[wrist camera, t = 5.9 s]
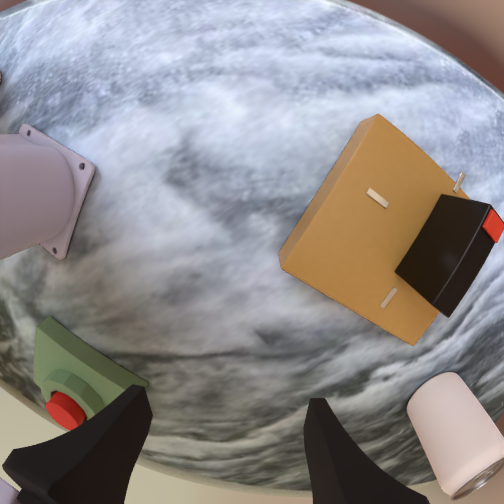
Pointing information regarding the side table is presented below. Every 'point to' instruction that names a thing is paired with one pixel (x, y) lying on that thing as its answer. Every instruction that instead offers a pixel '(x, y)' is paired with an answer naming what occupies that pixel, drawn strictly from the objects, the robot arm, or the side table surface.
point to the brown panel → (370, 228)
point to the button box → (77, 369)
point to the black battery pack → (450, 250)
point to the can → (456, 434)
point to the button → (65, 411)
